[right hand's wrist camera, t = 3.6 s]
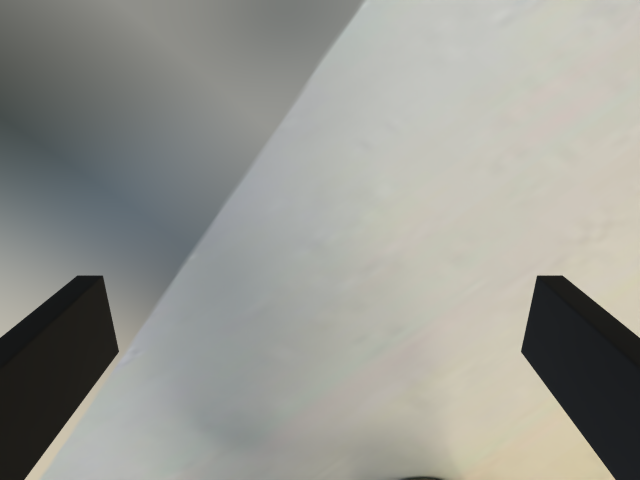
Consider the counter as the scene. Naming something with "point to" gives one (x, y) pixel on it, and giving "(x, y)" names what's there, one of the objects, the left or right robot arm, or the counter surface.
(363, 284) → the counter surface
